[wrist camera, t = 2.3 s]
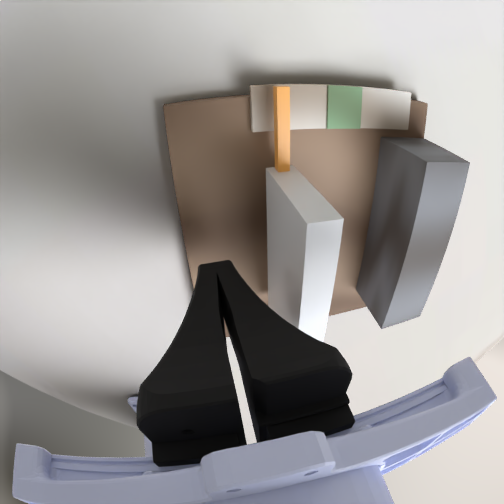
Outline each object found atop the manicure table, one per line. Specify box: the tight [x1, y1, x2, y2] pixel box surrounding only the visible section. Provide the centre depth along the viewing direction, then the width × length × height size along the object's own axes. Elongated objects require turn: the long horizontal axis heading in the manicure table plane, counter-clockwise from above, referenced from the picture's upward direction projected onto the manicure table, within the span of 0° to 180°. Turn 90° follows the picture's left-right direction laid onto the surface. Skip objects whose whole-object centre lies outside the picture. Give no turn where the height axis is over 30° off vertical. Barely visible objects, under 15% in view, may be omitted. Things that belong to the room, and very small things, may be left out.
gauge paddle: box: [266, 86, 344, 342], centre depth 12 cm, size 12×1×5 cm, turn 2°
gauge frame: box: [163, 84, 470, 337], centre depth 15 cm, size 14×13×4 cm
